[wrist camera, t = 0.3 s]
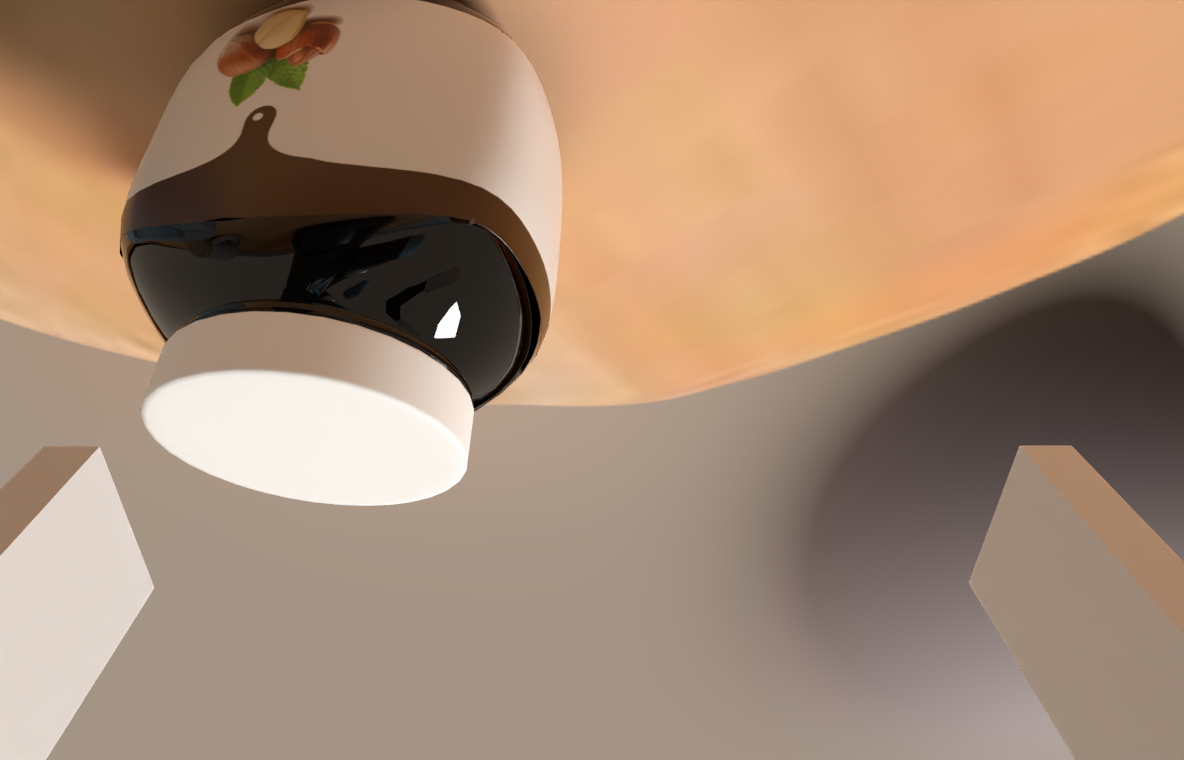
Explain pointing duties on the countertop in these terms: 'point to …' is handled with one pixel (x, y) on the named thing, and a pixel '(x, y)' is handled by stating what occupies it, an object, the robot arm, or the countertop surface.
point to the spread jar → (344, 246)
